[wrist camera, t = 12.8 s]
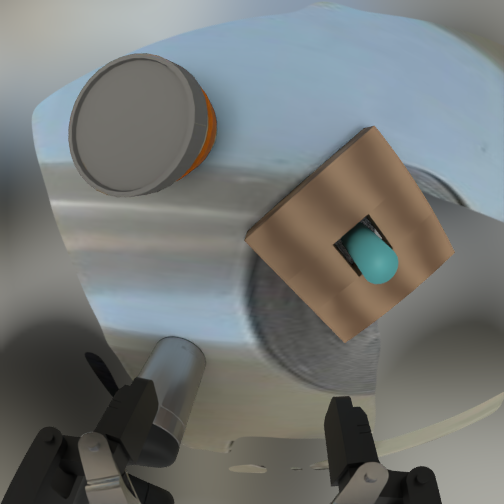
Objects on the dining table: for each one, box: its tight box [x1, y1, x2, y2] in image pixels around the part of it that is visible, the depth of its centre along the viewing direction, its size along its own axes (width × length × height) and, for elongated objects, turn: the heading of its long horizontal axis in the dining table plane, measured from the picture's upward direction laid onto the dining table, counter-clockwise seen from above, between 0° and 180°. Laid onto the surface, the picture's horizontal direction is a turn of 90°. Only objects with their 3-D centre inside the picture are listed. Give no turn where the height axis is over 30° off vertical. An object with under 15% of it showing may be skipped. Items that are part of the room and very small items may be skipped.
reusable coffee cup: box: [68, 53, 217, 197], centre depth 25 cm, size 13×13×15 cm
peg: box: [341, 222, 398, 284], centre depth 30 cm, size 4×4×10 cm
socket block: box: [244, 126, 455, 343], centre depth 33 cm, size 20×20×4 cm
